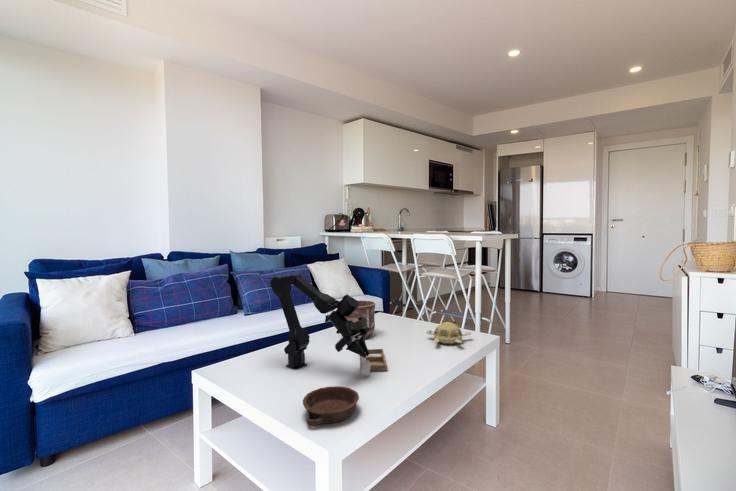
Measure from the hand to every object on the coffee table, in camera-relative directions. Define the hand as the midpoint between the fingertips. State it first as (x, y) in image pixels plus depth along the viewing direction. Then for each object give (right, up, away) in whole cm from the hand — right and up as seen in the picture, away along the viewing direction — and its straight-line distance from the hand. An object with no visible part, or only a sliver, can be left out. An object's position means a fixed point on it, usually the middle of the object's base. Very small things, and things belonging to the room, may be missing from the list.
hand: (367, 355), depth 140 cm
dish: (-11, -11, -24) cm, 29 cm away
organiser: (+2, -8, +18) cm, 20 cm away
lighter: (-2, -7, +1) cm, 8 cm away
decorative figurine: (+39, -6, +44) cm, 60 cm away
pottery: (-4, -7, +57) cm, 58 cm away
